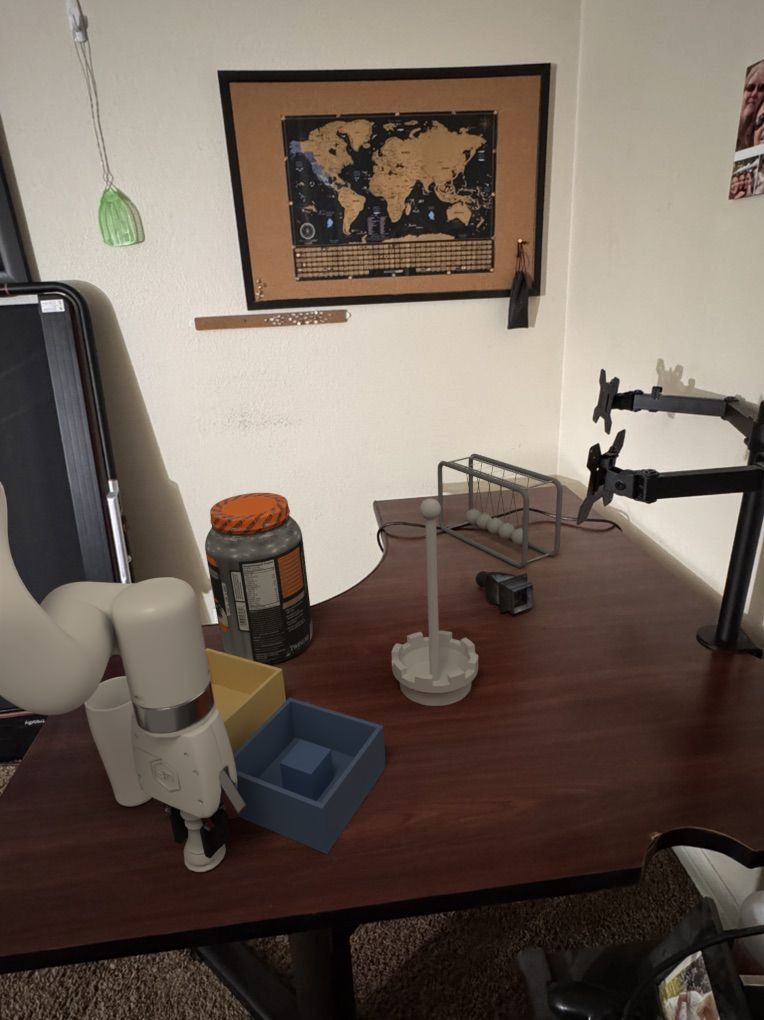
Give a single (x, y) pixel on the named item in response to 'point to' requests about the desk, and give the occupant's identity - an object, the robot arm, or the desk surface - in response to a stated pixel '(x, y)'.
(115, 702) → the drinking glass
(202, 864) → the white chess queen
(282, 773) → the blue block
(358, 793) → the slate bin
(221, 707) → the yellow bin
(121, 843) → the desk surface
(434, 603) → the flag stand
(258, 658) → the supplement tub
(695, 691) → the desk surface
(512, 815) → the desk surface
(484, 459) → the newton's cradle
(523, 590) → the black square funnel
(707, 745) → the desk surface
